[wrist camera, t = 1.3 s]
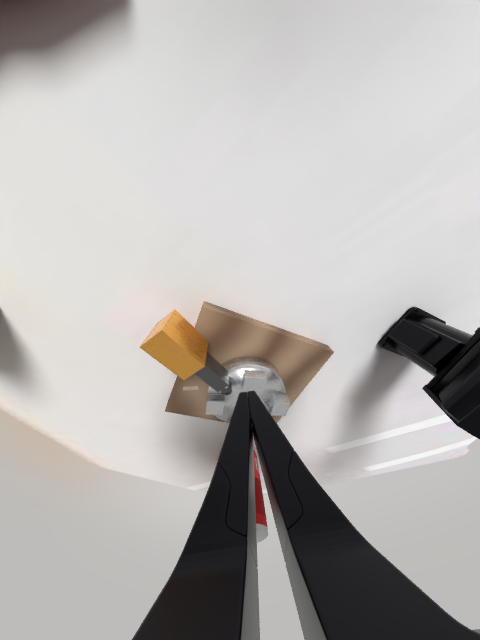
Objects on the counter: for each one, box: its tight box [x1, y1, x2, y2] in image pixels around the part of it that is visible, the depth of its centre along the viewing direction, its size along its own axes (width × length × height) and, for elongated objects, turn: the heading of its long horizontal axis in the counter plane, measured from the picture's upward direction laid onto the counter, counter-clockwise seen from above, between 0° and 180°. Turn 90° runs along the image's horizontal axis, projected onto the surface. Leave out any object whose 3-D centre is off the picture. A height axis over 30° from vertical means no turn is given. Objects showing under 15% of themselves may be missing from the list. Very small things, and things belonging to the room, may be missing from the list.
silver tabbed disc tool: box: [140, 310, 290, 423], centre depth 20 cm, size 19×10×5 cm, turn 37°
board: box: [165, 301, 334, 423], centre depth 25 cm, size 18×18×2 cm
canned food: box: [254, 451, 268, 543], centre depth 31 cm, size 8×8×11 cm
